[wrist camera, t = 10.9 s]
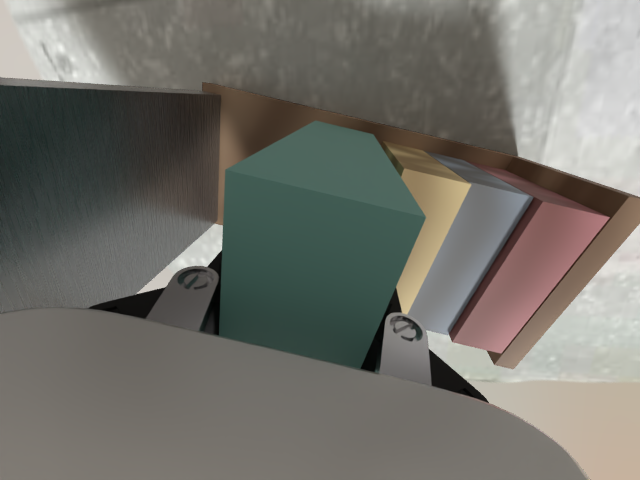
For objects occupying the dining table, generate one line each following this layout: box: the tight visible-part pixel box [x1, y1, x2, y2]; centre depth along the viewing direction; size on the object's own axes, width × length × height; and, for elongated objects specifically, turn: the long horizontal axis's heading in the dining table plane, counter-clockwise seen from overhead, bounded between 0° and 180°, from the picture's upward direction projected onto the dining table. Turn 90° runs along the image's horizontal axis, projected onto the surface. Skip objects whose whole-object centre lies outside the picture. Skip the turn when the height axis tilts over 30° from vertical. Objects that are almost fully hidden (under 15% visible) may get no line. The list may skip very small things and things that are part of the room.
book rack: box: [202, 82, 640, 369], centre depth 18 cm, size 24×11×10 cm, turn 78°
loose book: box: [219, 121, 426, 369], centre depth 14 cm, size 4×10×14 cm, turn 168°
